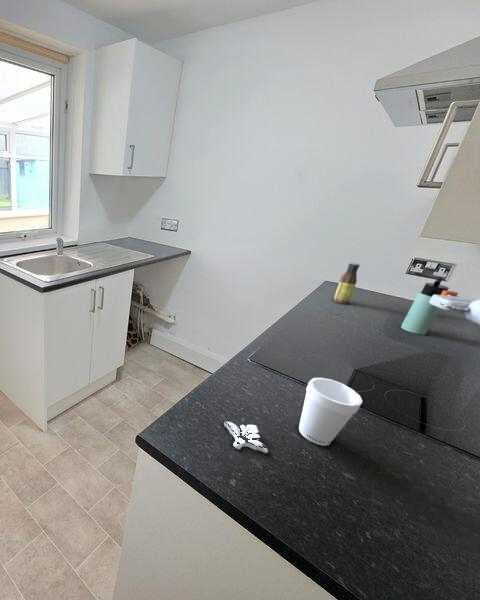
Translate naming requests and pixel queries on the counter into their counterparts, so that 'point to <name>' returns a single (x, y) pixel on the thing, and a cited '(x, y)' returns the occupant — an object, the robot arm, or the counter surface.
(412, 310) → the sports bottle
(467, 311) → the robot arm
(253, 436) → the acanthus leaf ornament
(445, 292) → the nozzle button
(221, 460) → the counter surface
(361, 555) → the counter surface
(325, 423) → the foam cup
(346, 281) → the sauce bottle
